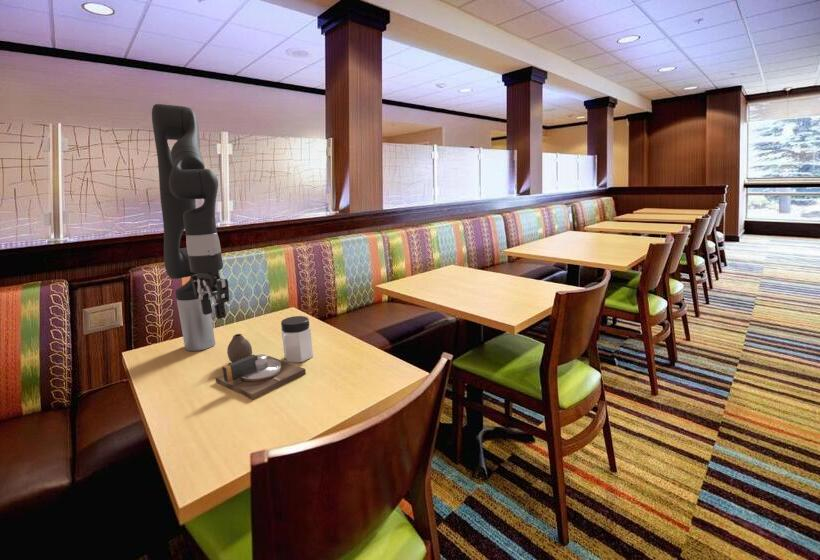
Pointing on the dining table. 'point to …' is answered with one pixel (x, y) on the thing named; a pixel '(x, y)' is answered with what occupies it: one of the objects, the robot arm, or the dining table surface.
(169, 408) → the dining table surface
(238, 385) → the base
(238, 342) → the vase
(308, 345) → the jar
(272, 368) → the knob
